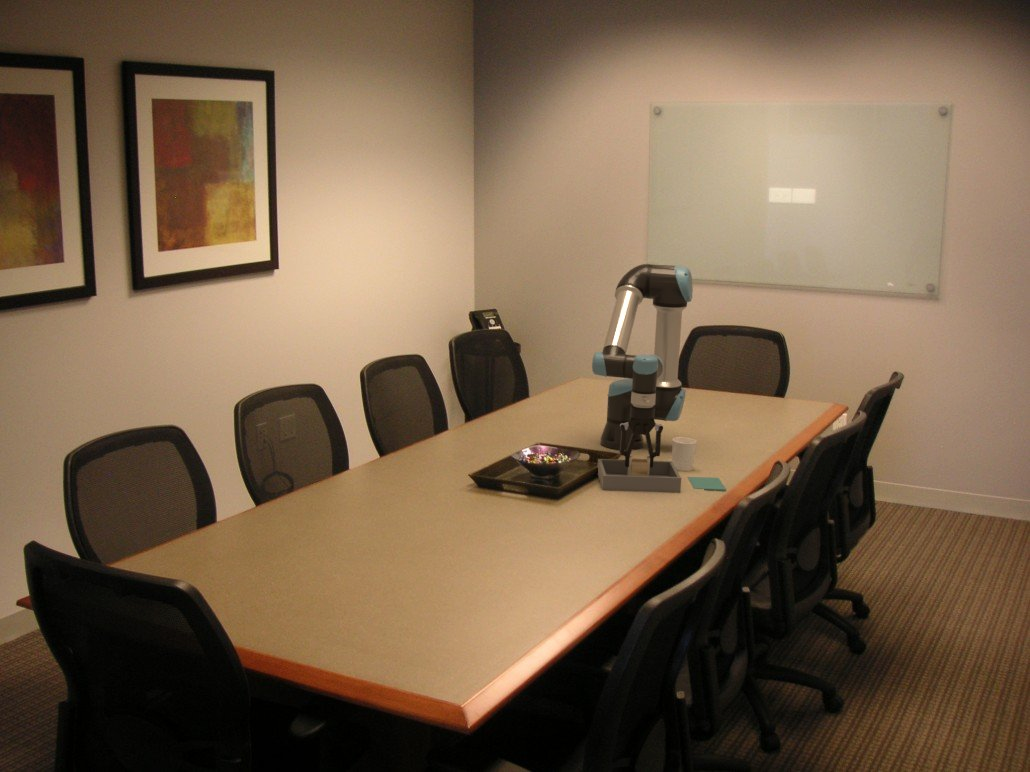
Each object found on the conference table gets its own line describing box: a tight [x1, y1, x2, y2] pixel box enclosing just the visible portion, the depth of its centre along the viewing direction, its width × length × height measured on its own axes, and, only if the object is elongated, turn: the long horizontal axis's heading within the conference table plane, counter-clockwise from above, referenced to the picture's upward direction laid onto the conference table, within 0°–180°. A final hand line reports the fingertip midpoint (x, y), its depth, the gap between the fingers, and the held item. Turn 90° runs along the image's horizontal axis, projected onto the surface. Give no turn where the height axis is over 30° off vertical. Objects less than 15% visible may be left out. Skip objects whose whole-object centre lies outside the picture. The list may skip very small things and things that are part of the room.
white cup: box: [671, 436, 697, 472], centre depth 362 cm, size 8×8×10 cm
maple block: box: [631, 457, 648, 476], centre depth 346 cm, size 5×5×7 cm
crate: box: [597, 458, 682, 493], centre depth 346 cm, size 18×24×5 cm
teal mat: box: [687, 476, 727, 492], centre depth 348 cm, size 12×10×1 cm
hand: (638, 476), depth 346 cm, fingers closed on maple block, 5 cm apart
